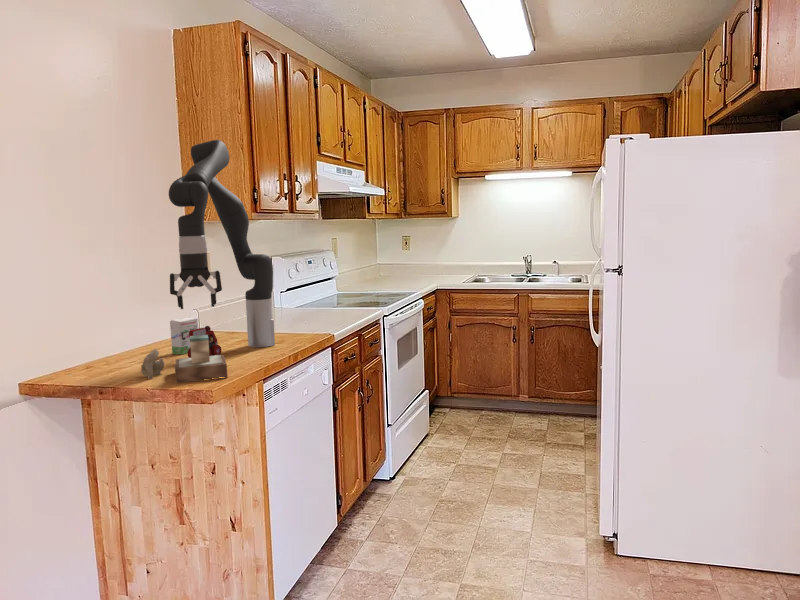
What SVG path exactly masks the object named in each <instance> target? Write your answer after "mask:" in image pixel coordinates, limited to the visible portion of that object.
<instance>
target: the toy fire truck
mask: <svg viewBox="0 0 800 600" xmlns="http://www.w3.org/2000/svg"><path fill="white" fill-rule="evenodd" d="M200 335H208V339H209V340H208V342H209V356H215V355H221V354H222V347H221V345H219V344H218V338H217V336H216V334H215V332H214V330H212V329H211V327H210V326H209V325H206V326H204V327H201V328H200V327H198V329H195V330H190V331H189V338H190V336H200ZM186 354H187V358H191V347H190V348H189V349H188V353H186Z"/></svg>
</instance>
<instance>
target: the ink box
mask: <svg viewBox="0 0 800 600" xmlns="http://www.w3.org/2000/svg"><path fill="white" fill-rule="evenodd" d="M169 327H170V341H171V351H172V352H171V353H172V354H173V355H186V354H187V353H188V349H189V348H190V347H191V346H190V338H189V331H190V330H195V329H199V319H198V318H197V317H189V316H188V317H182V318H175V319H171V320H169Z"/></svg>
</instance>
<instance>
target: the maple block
mask: <svg viewBox="0 0 800 600" xmlns="http://www.w3.org/2000/svg"><path fill="white" fill-rule="evenodd" d="M208 340H209V339H208V335H200V336H190V346H191V361H192V363H200V362H210V358H209V342H208Z"/></svg>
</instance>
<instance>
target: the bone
mask: <svg viewBox="0 0 800 600" xmlns="http://www.w3.org/2000/svg"><path fill="white" fill-rule="evenodd" d="M159 354H160V352H159V350H158V348H157V349H156V348H154V349H153V350H151V351H150V352H149V353H148V354H147V355H146V356H145V357H144V359H143V362H142V364H141V366H140V369H141V370H140V373H141V374H142V377H144V378H145V377H147V379H148V380H152V379H153V377H154V376H160V375H163V374H162V373H161V372H163V370H164V368H165V360H164V358H163V357H160V358H159ZM158 358H159V359H158Z"/></svg>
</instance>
